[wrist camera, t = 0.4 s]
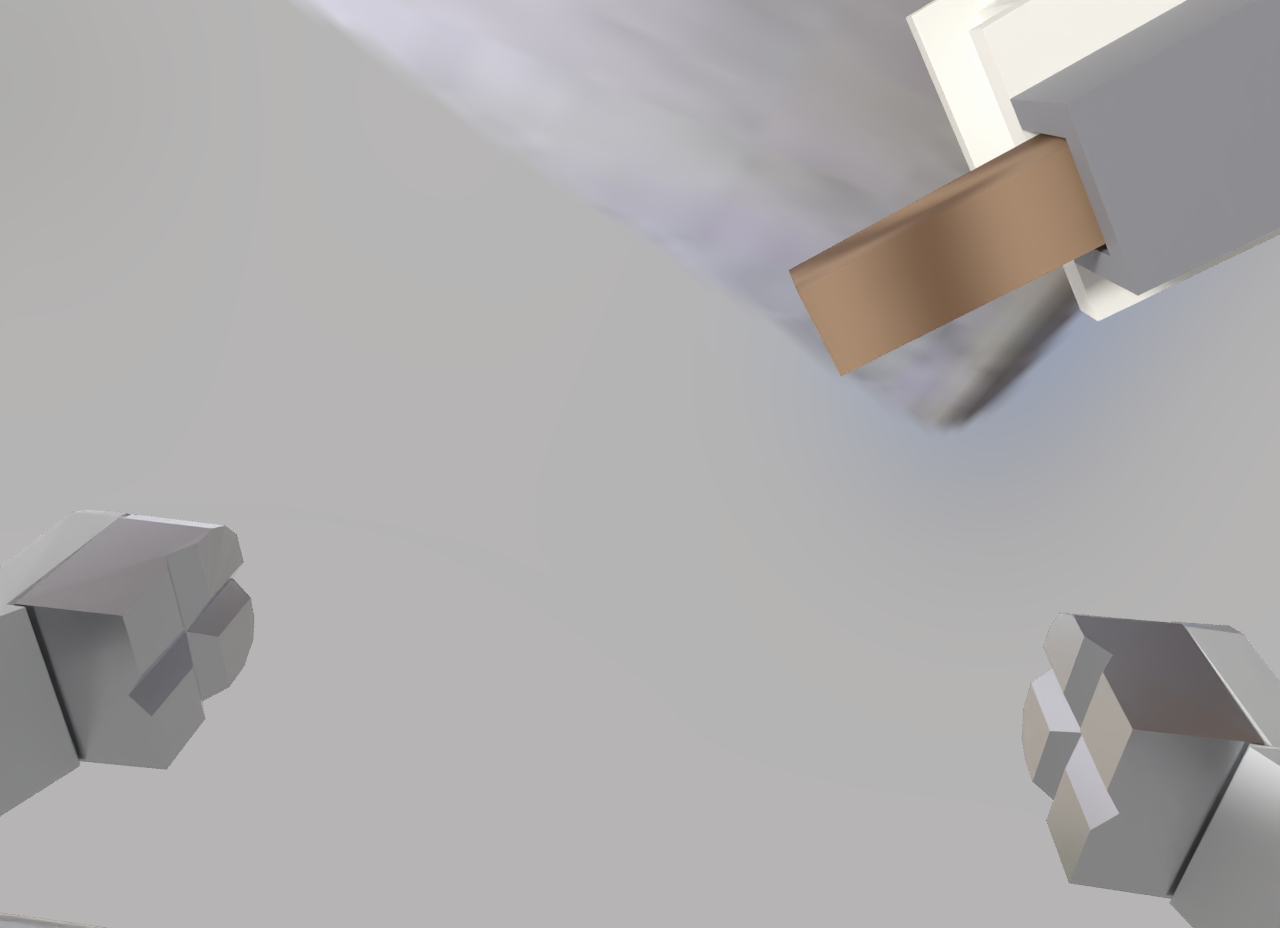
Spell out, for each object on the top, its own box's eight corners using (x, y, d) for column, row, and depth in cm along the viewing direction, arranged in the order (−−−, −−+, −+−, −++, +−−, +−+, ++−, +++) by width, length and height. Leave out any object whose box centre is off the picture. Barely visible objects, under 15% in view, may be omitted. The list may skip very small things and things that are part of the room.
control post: (927, 211, 52) (1163, 363, 25) (854, 48, 49) (1034, 20, 22) (1189, 70, 48) (1805, 69, 21) (1128, -117, 45) (1762, -400, 18)
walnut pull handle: (828, 348, 30) (841, 376, 27) (788, 270, 29) (797, 291, 26) (1489, 9, 25) (1587, 2, 22) (1467, -99, 24) (1566, -122, 21)
